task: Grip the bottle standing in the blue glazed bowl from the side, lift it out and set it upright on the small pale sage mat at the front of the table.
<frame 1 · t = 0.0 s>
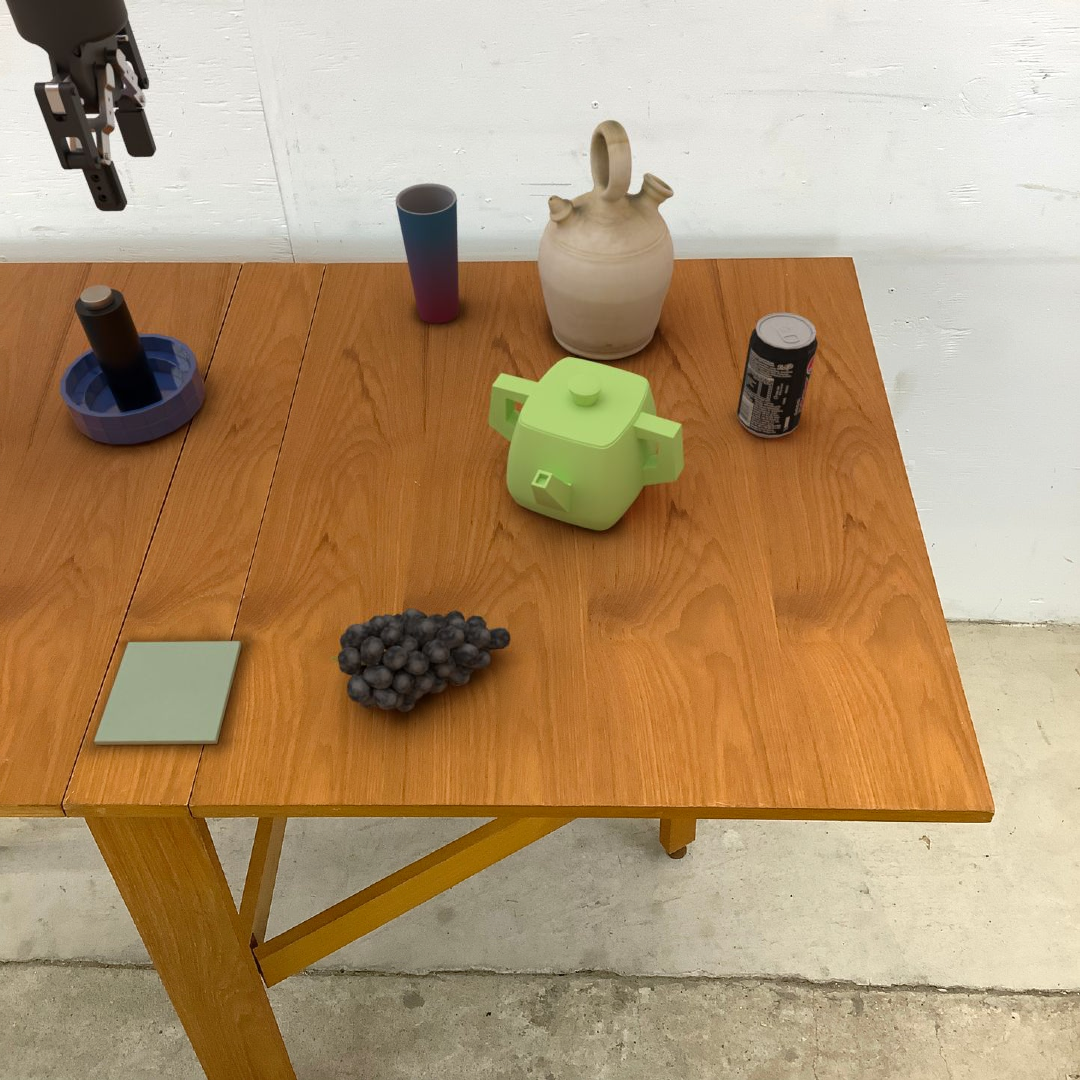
hand: (129, 181, 78), 32 cm above the table, tool pointing down, fingers open, 8 cm apart
cup: (438, 313, 120), on the table
fruit: (429, 682, 84), on the table
bottle: (140, 401, 109), point 1 cm above the table, touching bowl
bowl: (141, 405, 109), on the table
jug: (602, 330, 118), on the table
mat: (171, 693, 84), on the table
beverage can: (766, 422, 106), on the table
teapot: (574, 497, 99), on the table
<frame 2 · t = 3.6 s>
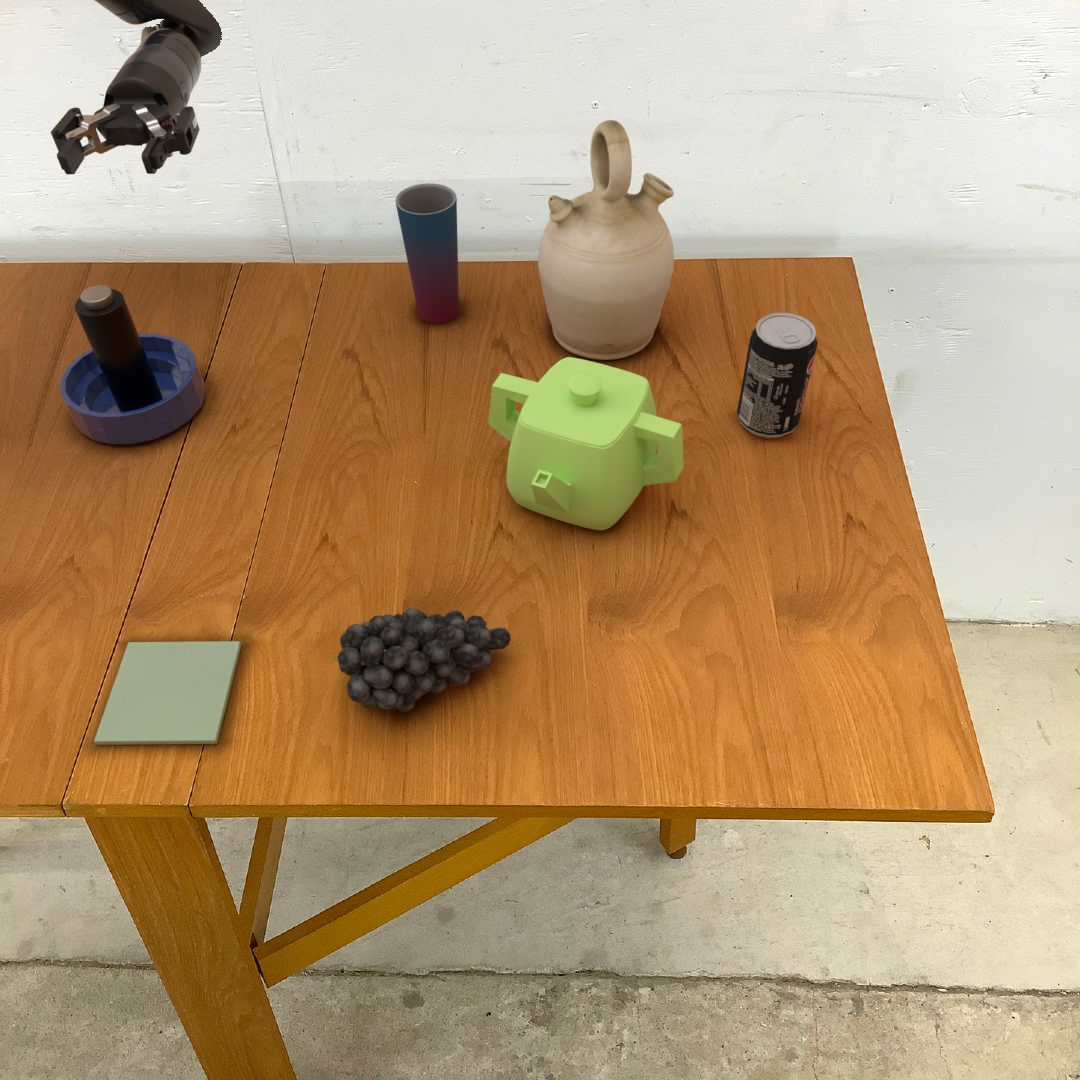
hand: (106, 165, 101), 22 cm above the table, tool horizontal, fingers open, 8 cm apart
nothing on the table moved.
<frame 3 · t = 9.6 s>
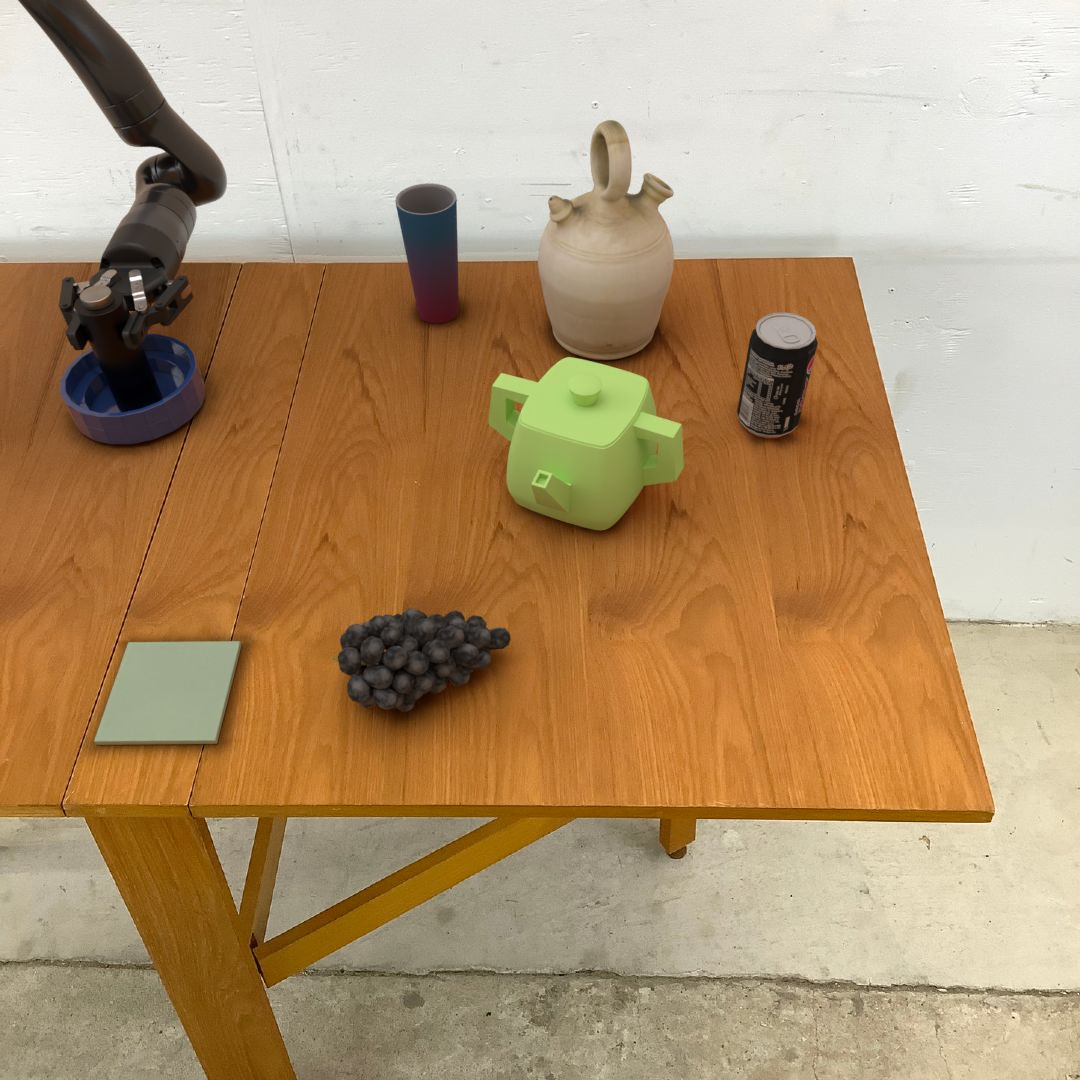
hand: (102, 342, 100), 11 cm above the table, tool horizontal, fingers closed on bottle, 5 cm apart
bottle: (140, 401, 109), point 1 cm above the table, touching bowl, gripper
everything else where it was.
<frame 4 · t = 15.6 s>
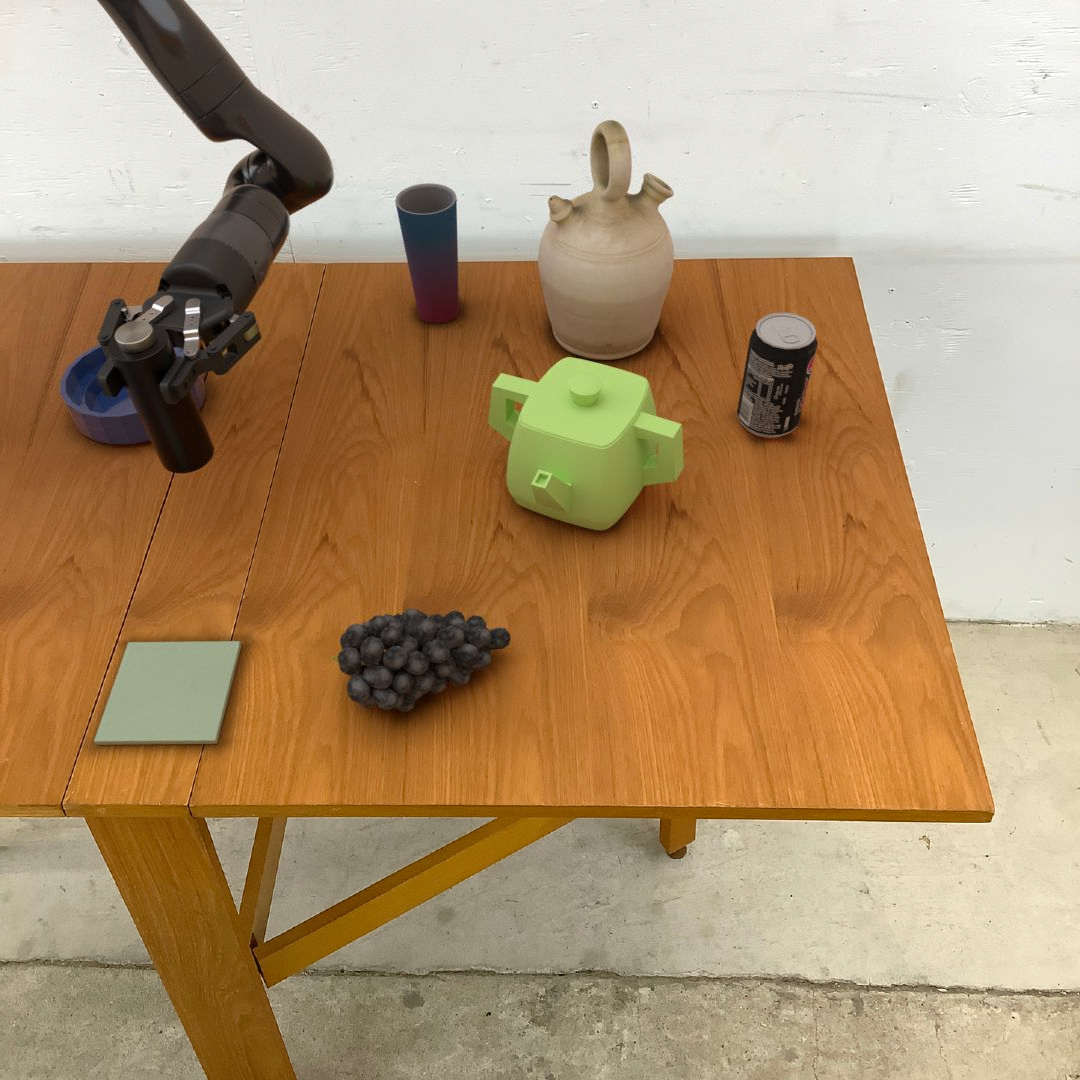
hand: (136, 392, 80), 20 cm above the table, tool horizontal, fingers closed on bottle, 5 cm apart
bottle: (187, 454, 90), point 10 cm above the table, touching gripper
everything else where it was.
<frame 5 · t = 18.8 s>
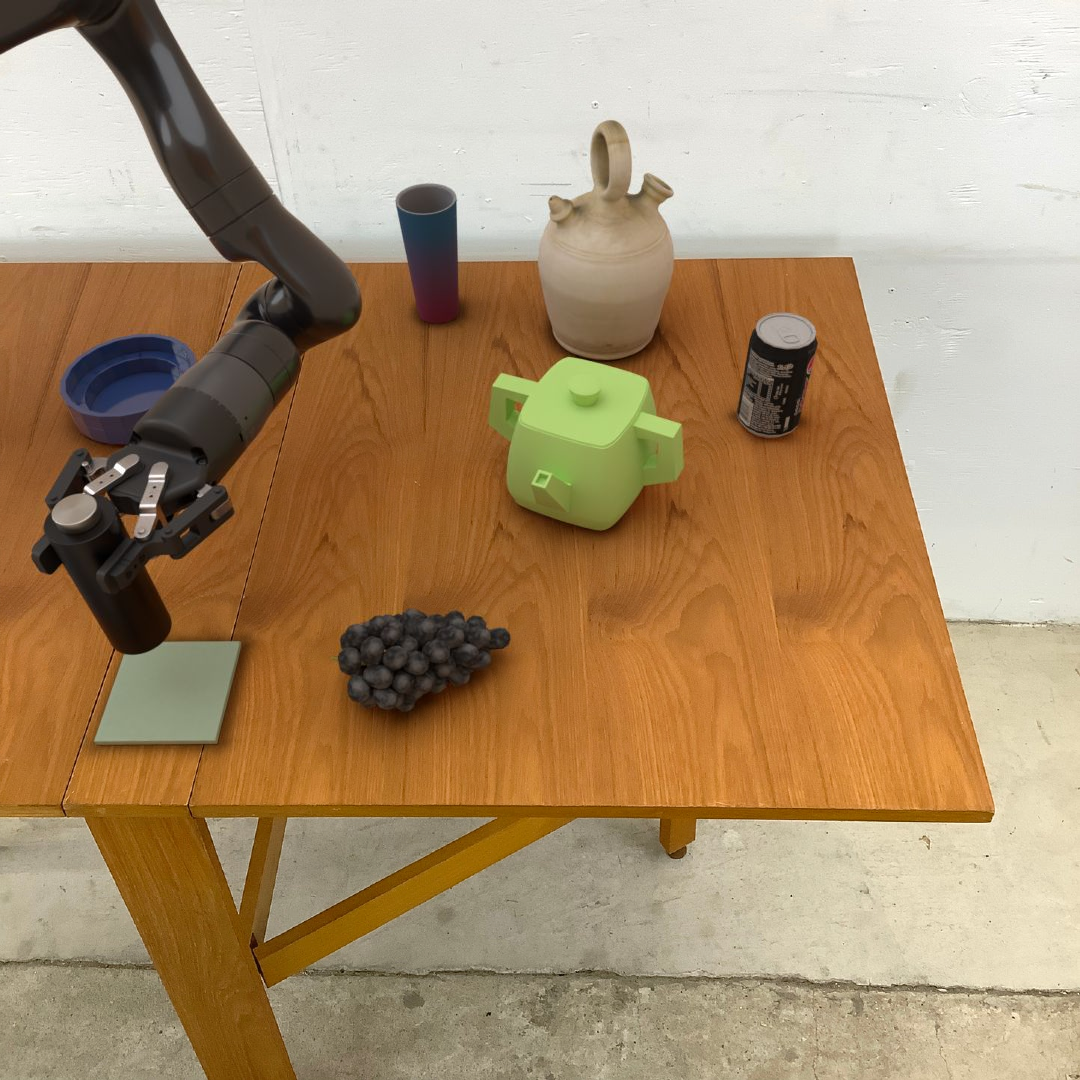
hand: (72, 575, 68), 19 cm above the table, tool horizontal, fingers closed on bottle, 5 cm apart
bottle: (141, 630, 77), point 9 cm above the table, touching gripper
everything else where it was.
when the fingers open (11 cm above the table, at t = 21.4 s): bottle stays where it is, resting on mat.
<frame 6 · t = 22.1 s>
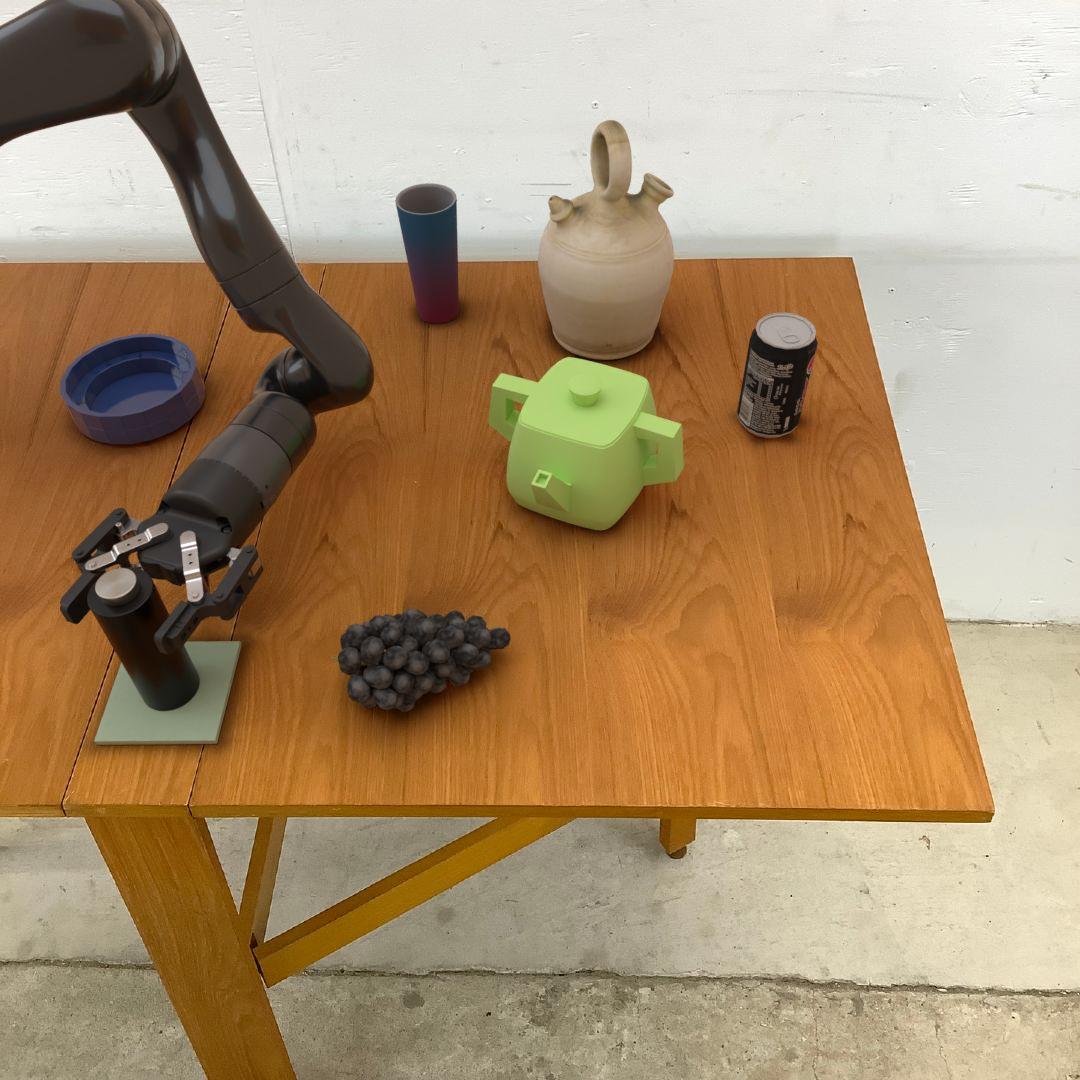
hand: (113, 632, 74), 11 cm above the table, tool horizontal, fingers open, 8 cm apart
bottle: (171, 687, 84), point 1 cm above the table, touching mat
everything else where it was.
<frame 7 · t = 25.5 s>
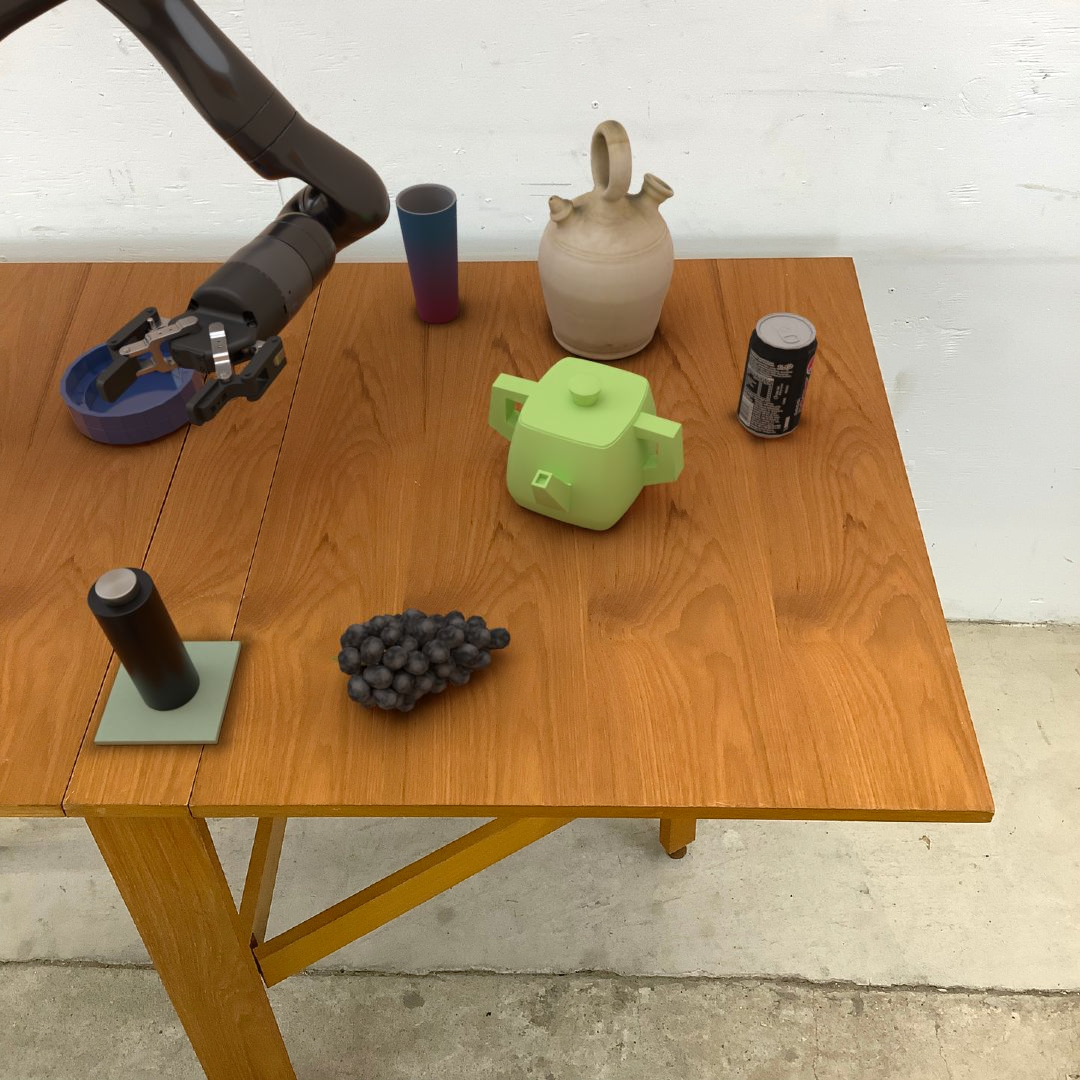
hand: (147, 405, 79), 20 cm above the table, tool horizontal, fingers open, 8 cm apart
nothing on the table moved.
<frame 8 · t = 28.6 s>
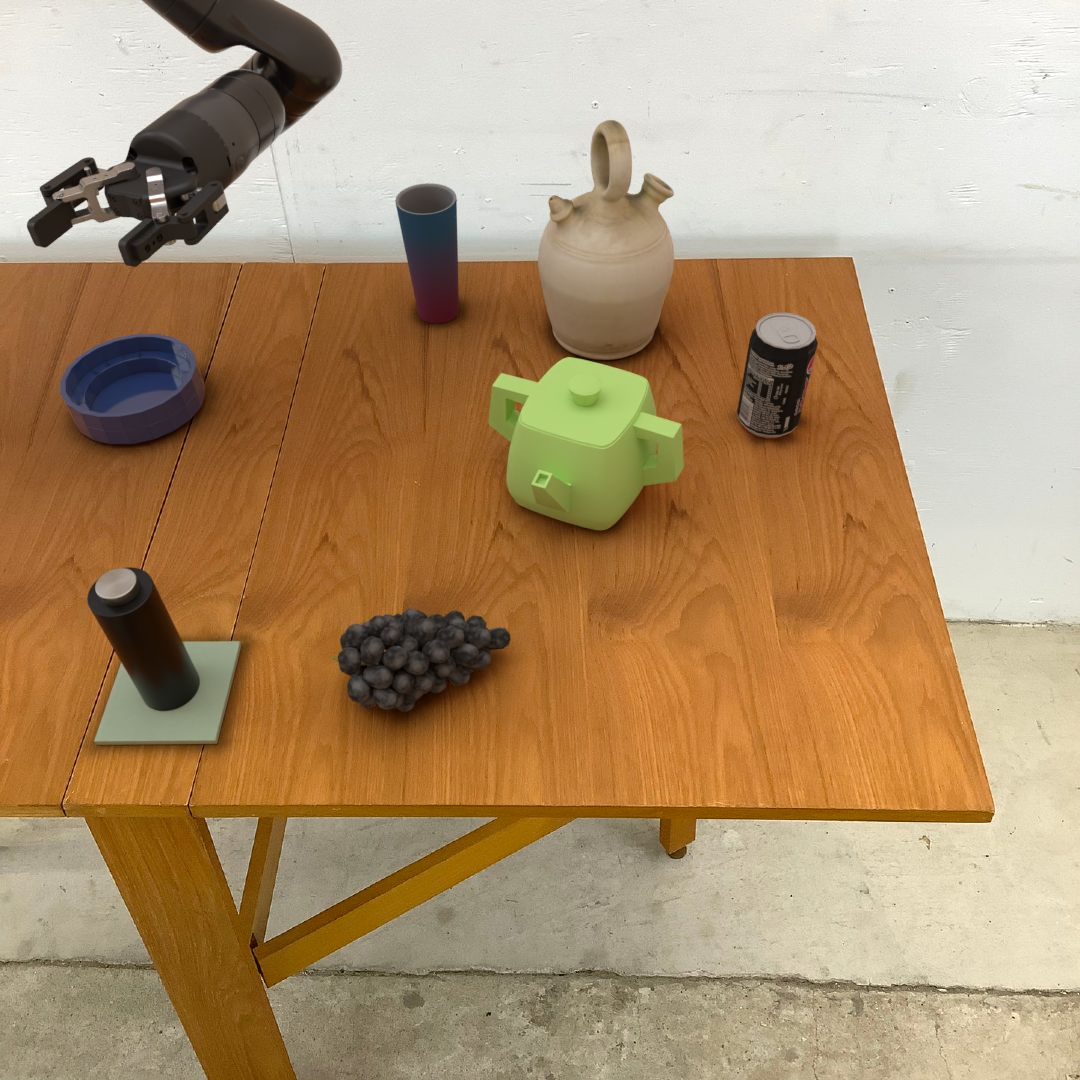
hand: (79, 246, 76), 30 cm above the table, tool horizontal, fingers open, 8 cm apart
nothing on the table moved.
at the end: bottle inside the target area on the mat (0.2 cm from its centre), point 0.6 cm above the mat's base; bottle tilted 0°; the gripper is holding nothing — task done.
